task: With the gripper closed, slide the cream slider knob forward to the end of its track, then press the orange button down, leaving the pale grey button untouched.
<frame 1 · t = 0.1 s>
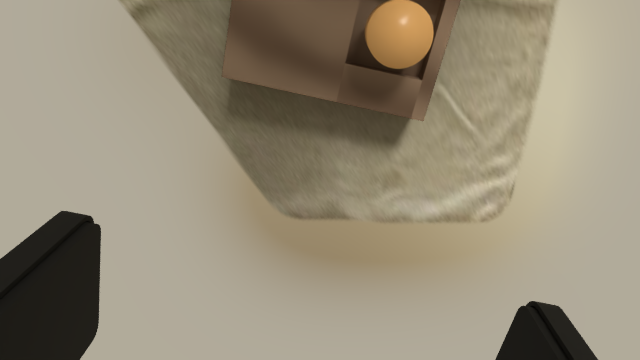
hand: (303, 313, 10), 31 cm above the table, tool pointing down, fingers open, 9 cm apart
orange button: (397, 33, 32), point 6 cm above the table, slide at 0.0 cm
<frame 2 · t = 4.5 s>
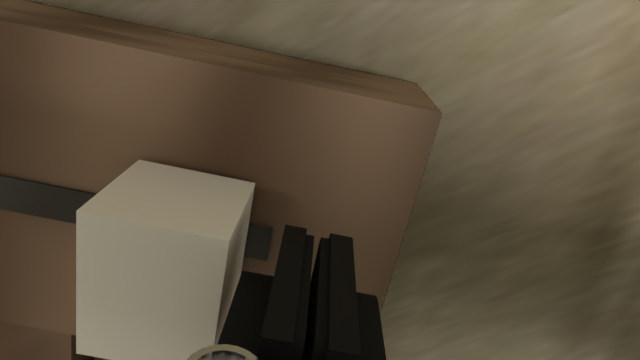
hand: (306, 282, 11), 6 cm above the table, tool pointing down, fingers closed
control panel: (75, 231, 17), on the table
slider knob: (172, 262, 11), point 6 cm above the table, slide at 0.7 cm, touching gripper
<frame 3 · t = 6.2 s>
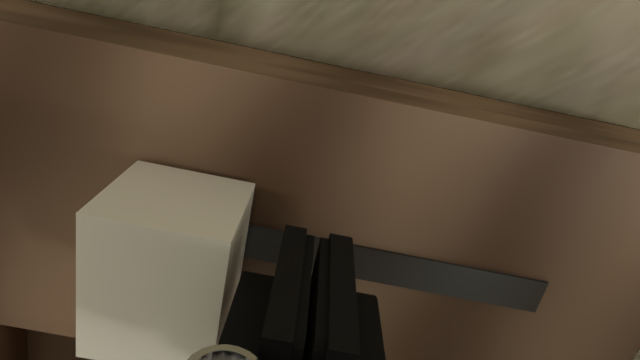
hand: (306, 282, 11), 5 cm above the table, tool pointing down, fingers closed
control panel: (275, 270, 18), on the table
slider knob: (172, 263, 11), point 6 cm above the table, slide at 8.4 cm, touching gripper
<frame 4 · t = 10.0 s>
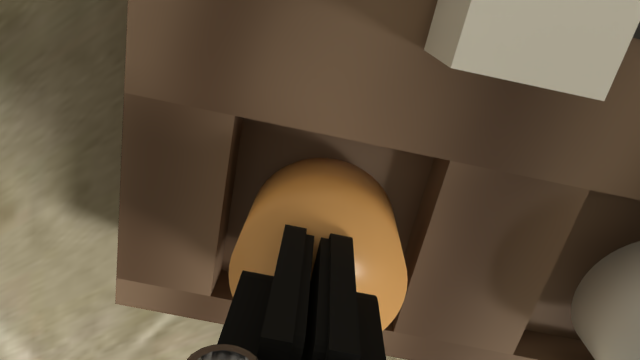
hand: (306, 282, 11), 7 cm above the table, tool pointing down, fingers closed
orange button: (319, 250, 13), point 5 cm above the table, slide at 0.7 cm, touching gripper
control panel: (489, 107, 16), on the table
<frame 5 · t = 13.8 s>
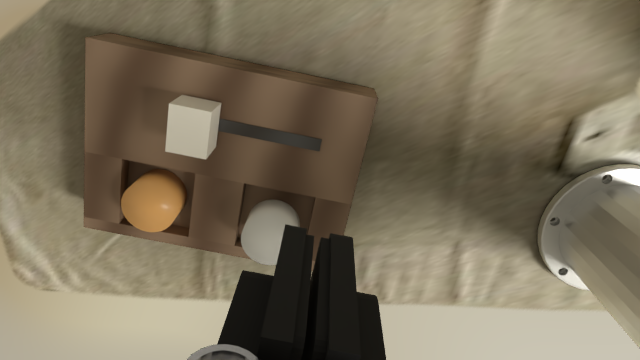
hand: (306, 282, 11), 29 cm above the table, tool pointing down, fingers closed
orange button: (155, 200, 38), point 4 cm above the table, slide at 1.5 cm
control panel: (231, 151, 41), on the table
slider knob: (193, 126, 34), point 6 cm above the table, slide at 8.1 cm
grey button: (271, 231, 37), point 6 cm above the table, slide at 0.0 cm
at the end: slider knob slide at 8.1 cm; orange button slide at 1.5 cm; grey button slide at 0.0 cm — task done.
